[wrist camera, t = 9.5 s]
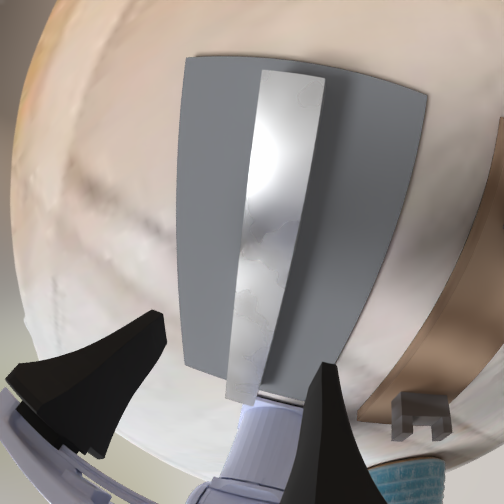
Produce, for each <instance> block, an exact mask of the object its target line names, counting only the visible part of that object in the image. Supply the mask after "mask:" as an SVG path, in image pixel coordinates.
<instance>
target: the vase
mask: <svg viewBox="0 0 504 504" xmlns="http://www.w3.org/2000/svg"><path fill="white" fill-rule="evenodd" d="M445 470H446V463H445V461H444V460H442V459H439V458H436V457H416V458H409V459H403V460H397V461H393V462H388V463H384V464H381V465H377V466H374V467H371V468H369V469H368V471H369V473H370V475H371V477H372V479H373V481H374V483H375V484H376V486H377V488H378V489H379V491H380V493H381V494H382V496H383V497H384V499H385V500H386V502H387V503H388V504H443V501H442V500H443V498H444V494H443V492H444V489H445V486H444V482H445Z"/></svg>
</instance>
